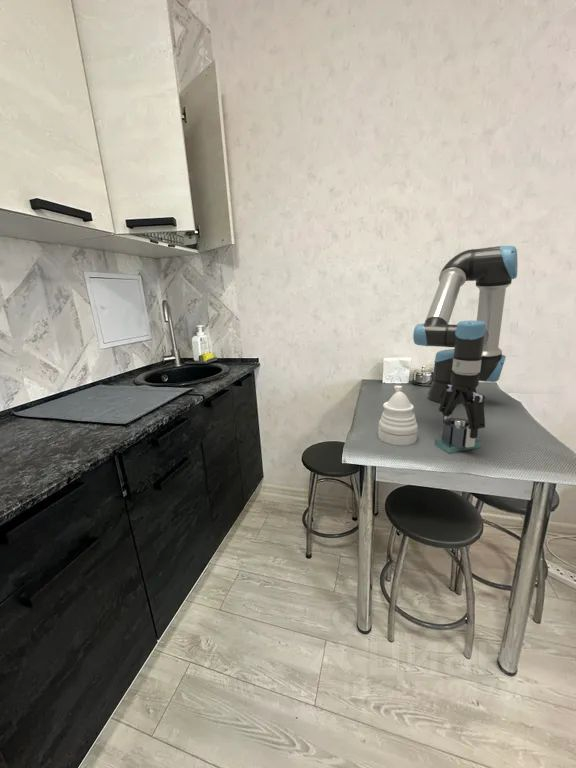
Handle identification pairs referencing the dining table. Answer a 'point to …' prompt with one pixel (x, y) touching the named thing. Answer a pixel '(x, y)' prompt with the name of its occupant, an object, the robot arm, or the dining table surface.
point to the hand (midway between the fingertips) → (457, 439)
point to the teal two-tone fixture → (452, 448)
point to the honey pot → (398, 420)
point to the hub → (454, 432)
